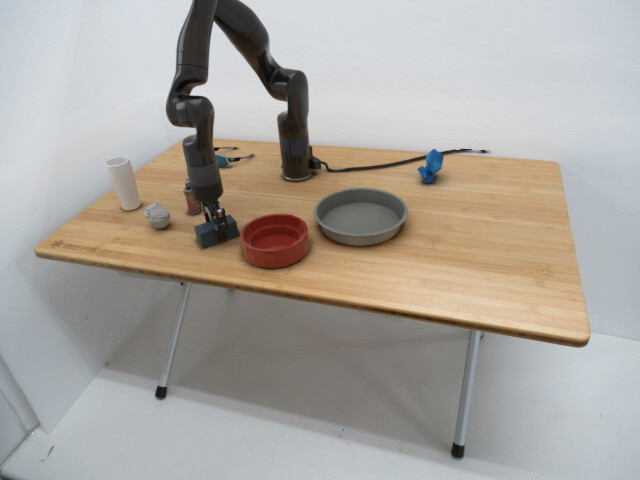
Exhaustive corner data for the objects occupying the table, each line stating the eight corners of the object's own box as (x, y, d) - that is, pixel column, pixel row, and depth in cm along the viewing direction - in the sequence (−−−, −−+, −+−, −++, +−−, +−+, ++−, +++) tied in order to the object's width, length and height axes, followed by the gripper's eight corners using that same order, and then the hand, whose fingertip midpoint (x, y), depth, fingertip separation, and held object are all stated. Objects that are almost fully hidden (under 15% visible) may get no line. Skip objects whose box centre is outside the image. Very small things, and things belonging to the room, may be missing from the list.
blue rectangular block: (232, 228, 127) (229, 214, 124) (239, 235, 123) (236, 221, 121) (197, 240, 122) (193, 226, 120) (203, 248, 119) (199, 234, 117)
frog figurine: (158, 219, 133) (151, 198, 129) (178, 223, 130) (172, 201, 126) (143, 230, 128) (136, 208, 124) (164, 234, 126) (157, 212, 122)
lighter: (197, 215, 133) (189, 184, 128) (186, 214, 134) (178, 183, 128) (208, 201, 140) (201, 171, 134) (197, 200, 140) (190, 170, 135)
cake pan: (420, 242, 116) (421, 226, 113) (323, 256, 113) (322, 241, 111) (391, 195, 136) (392, 181, 133) (308, 207, 133) (307, 193, 131)
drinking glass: (148, 203, 141) (134, 157, 133) (132, 214, 136) (116, 167, 128) (131, 199, 144) (116, 154, 135) (115, 210, 139) (98, 164, 130)
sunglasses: (198, 159, 165) (197, 146, 163) (234, 152, 174) (233, 138, 172) (220, 171, 156) (219, 156, 154) (256, 162, 165) (256, 148, 163)
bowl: (289, 224, 126) (287, 207, 123) (321, 253, 114) (320, 234, 111) (232, 245, 119) (229, 227, 116) (261, 278, 108) (257, 259, 104)
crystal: (417, 167, 135) (419, 142, 143) (416, 189, 141) (418, 164, 149) (443, 168, 134) (444, 143, 141) (441, 190, 140) (442, 165, 148)
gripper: (230, 184, 109) (241, 241, 119) (209, 163, 120) (220, 218, 129) (200, 193, 106) (213, 252, 115) (180, 172, 117) (194, 227, 126)
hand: (217, 234), depth 122 cm, fingers open, 7 cm apart
